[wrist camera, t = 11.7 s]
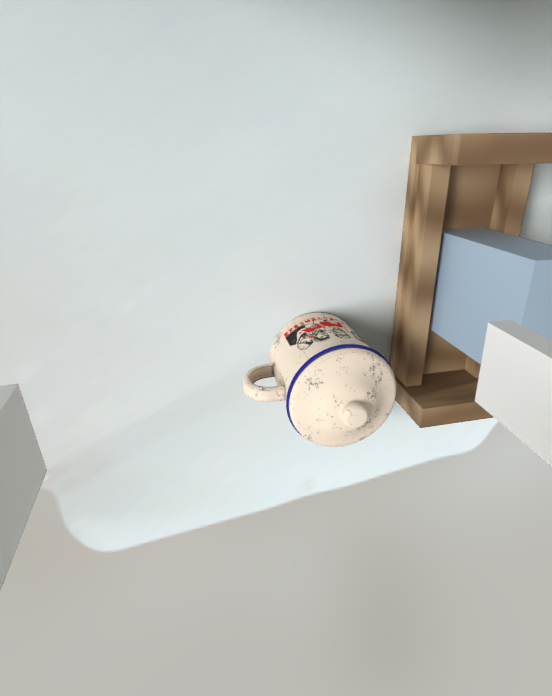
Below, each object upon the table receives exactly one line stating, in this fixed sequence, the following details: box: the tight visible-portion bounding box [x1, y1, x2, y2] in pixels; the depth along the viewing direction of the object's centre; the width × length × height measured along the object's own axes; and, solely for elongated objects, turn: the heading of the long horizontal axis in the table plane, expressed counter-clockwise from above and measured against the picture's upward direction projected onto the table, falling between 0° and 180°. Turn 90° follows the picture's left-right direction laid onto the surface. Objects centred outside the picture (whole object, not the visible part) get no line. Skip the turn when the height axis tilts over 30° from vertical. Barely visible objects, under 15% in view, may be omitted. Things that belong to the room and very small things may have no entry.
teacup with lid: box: [243, 313, 396, 447], centre depth 37 cm, size 12×9×12 cm
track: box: [390, 133, 552, 428], centre depth 39 cm, size 24×10×7 cm, turn 1°
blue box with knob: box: [429, 228, 552, 364], centre depth 36 cm, size 9×6×12 cm, turn 1°
